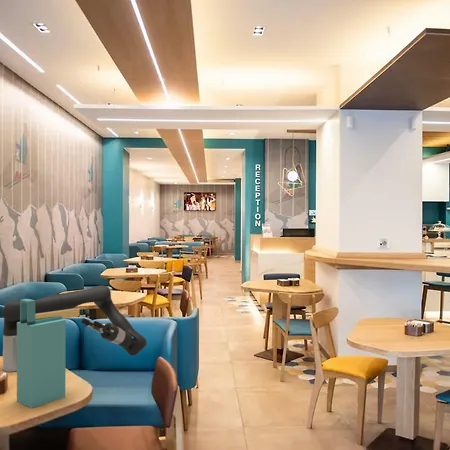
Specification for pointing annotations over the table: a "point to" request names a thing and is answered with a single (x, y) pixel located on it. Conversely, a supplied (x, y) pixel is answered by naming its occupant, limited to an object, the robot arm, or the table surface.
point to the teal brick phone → (40, 357)
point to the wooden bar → (58, 314)
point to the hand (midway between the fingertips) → (88, 321)
